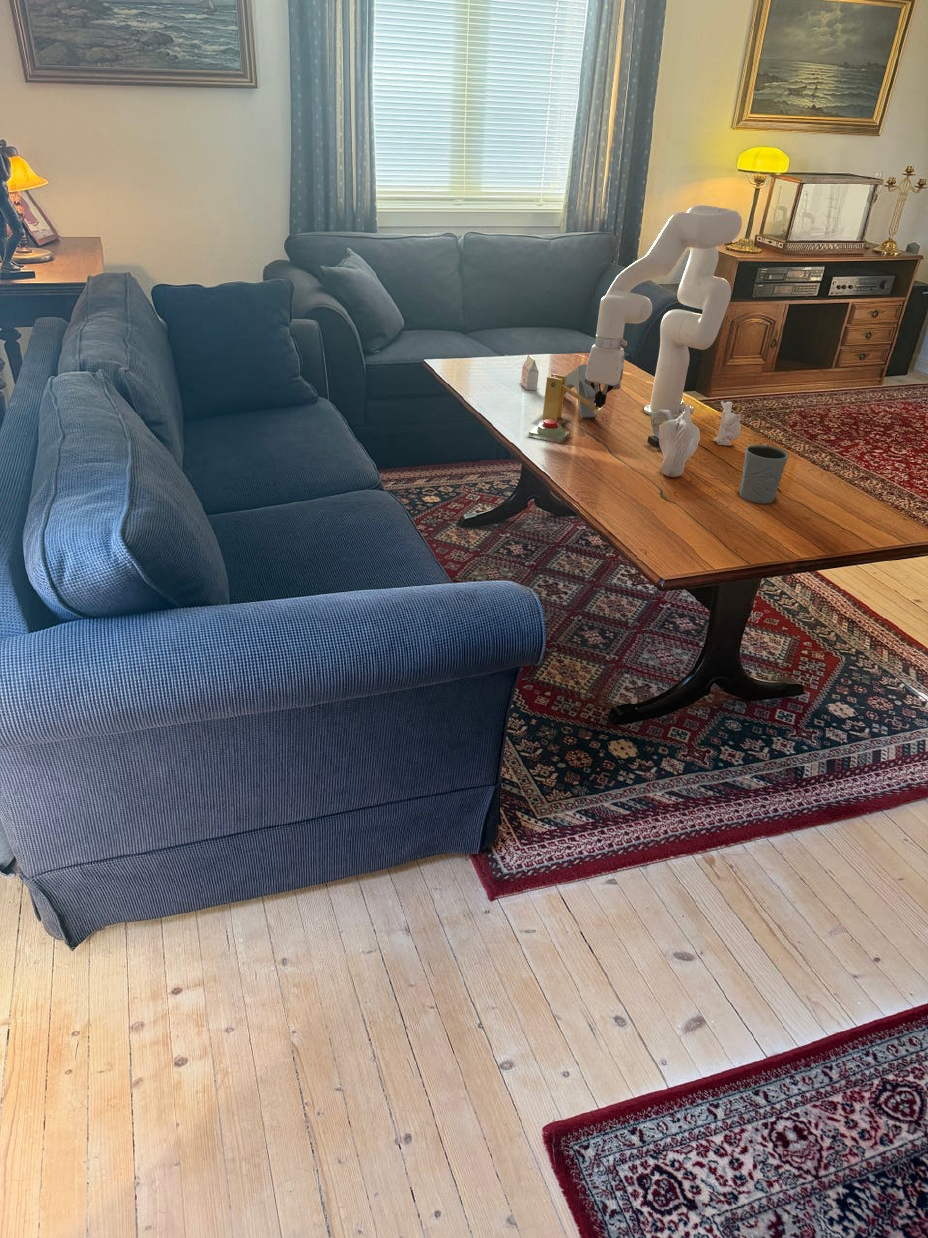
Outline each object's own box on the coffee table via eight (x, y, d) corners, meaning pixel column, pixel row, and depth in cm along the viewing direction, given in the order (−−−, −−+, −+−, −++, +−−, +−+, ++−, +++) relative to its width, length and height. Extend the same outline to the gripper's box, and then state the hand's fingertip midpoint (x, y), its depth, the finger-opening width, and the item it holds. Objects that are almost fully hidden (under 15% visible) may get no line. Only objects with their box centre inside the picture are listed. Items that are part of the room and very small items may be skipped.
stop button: (558, 426, 240) (559, 420, 239) (554, 430, 237) (555, 424, 236) (545, 424, 241) (546, 418, 240) (541, 427, 238) (541, 421, 237)
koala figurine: (705, 439, 247) (713, 399, 241) (723, 437, 250) (732, 398, 244) (723, 449, 241) (732, 408, 235) (741, 447, 243) (751, 407, 237)
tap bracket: (568, 420, 255) (574, 375, 248) (559, 428, 248) (564, 382, 241) (543, 415, 258) (548, 370, 251) (534, 423, 251) (538, 377, 244)
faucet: (549, 430, 277) (585, 418, 248) (546, 378, 275) (583, 360, 246) (566, 429, 279) (604, 417, 250) (564, 378, 277) (602, 360, 248)
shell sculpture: (670, 482, 216) (683, 414, 207) (650, 471, 222) (662, 404, 213) (694, 478, 220) (709, 411, 210) (674, 467, 226) (687, 402, 217)
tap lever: (601, 412, 248) (605, 405, 247) (595, 416, 244) (599, 410, 242) (553, 381, 250) (556, 374, 248) (547, 385, 246) (550, 378, 244)
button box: (568, 437, 242) (570, 425, 240) (561, 444, 236) (562, 432, 235) (536, 431, 245) (537, 419, 243) (528, 437, 240) (529, 425, 238)
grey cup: (770, 508, 206) (782, 461, 200) (730, 497, 210) (741, 452, 204) (780, 495, 213) (792, 450, 207) (741, 485, 218) (752, 441, 211)
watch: (658, 442, 243) (665, 405, 237) (674, 452, 237) (682, 414, 231) (642, 444, 241) (649, 406, 235) (658, 453, 235) (665, 415, 229)
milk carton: (531, 383, 287) (534, 354, 282) (536, 389, 282) (539, 359, 277) (520, 384, 287) (523, 354, 281) (526, 389, 281) (529, 359, 276)
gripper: (637, 343, 236) (627, 407, 245) (586, 335, 241) (578, 398, 250) (630, 349, 230) (620, 414, 240) (579, 341, 235) (571, 405, 244)
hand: (599, 406), depth 245 cm, fingers closed
